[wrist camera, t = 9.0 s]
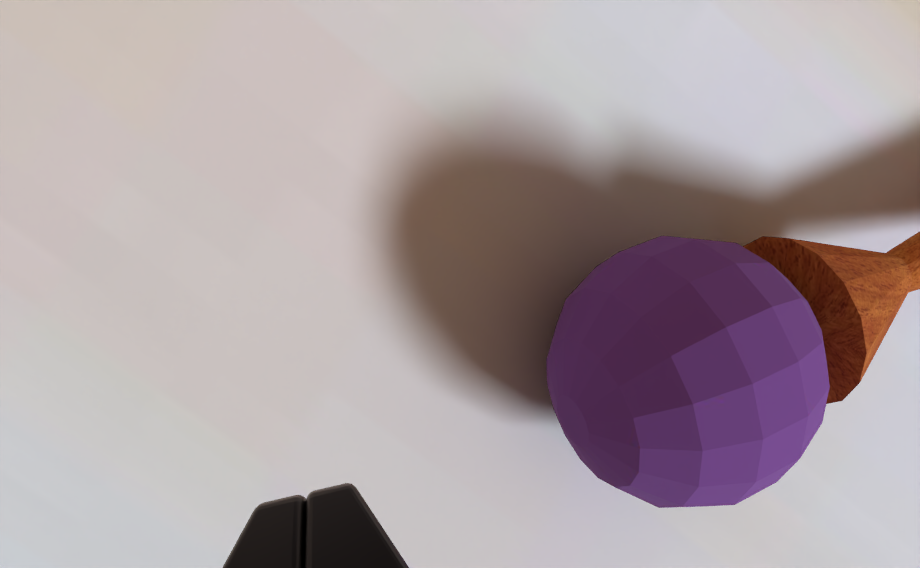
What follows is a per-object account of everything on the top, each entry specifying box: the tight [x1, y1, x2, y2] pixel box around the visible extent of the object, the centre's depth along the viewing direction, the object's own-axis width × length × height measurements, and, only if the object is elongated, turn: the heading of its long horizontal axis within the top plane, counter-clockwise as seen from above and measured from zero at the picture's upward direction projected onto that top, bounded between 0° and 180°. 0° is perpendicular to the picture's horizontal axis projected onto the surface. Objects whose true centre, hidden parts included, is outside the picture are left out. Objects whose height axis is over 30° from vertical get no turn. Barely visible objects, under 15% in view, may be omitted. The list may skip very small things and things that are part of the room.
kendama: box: [546, 232, 920, 508], centre depth 22 cm, size 6×6×20 cm
